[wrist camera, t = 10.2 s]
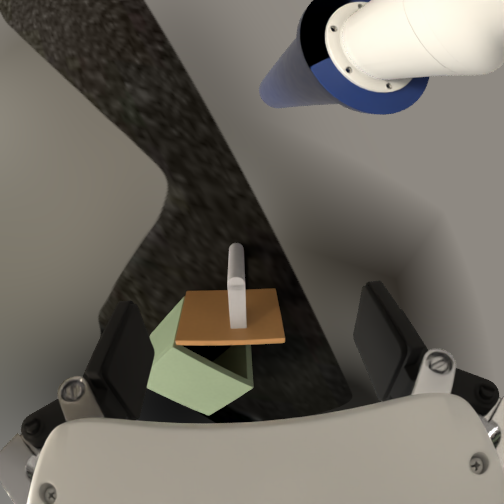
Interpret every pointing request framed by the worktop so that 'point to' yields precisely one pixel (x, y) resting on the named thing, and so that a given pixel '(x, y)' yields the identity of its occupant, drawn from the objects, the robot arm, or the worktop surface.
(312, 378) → the worktop surface
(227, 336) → the door
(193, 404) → the cupboard
